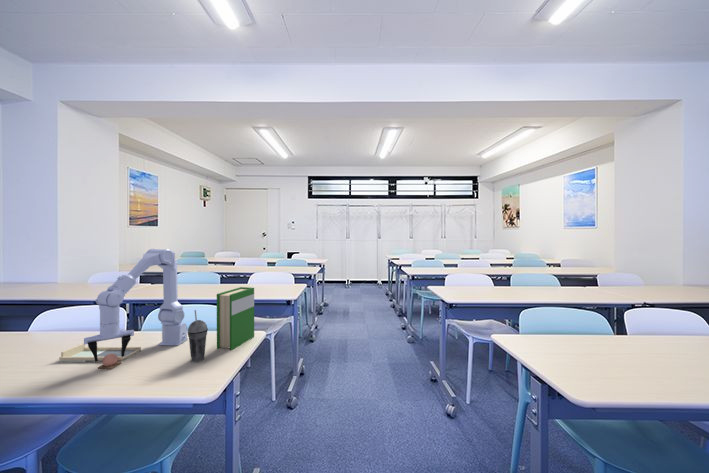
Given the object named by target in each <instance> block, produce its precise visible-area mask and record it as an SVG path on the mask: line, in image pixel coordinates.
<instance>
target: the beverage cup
mask: <svg viewBox="0 0 709 473" xmlns="http://www.w3.org/2000/svg"><path fill="white" fill-rule="evenodd" d="M194 317H195V320H194V321H192V322H191V323H190V324H189V326H188V327H187V338H188V341H189V353H190V359H191V360H190V361H191V362H193V363H197V362H202V361H203V360H204V359H205V355H206V354H205V353H206V346H207V335H208V330H209V329H208V325H207V323H206V322H205V321H203V320H201V319H198V317H197V310H196V309H195V310H194Z"/></svg>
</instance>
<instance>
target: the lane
mask: <svg viewBox="0 0 709 473" xmlns="http://www.w3.org/2000/svg"><path fill="white" fill-rule="evenodd" d="M85 345H86V344H85ZM85 345H84V342H83V343H81V344H78V345H76V346H73V347H71V348H68V349H66V350H63V351H60V352H61V353H60V356H59V358H58V360H59V361H58V362H59V363H96V362H95V358H94V356H93V353H92V352H91V350H90V349H89V347H88V346H85ZM121 349H122V346H97V358H98V362H97V363H102V360H103V358H104V357H105V356H106V355H108V354H115V355H116V356H117V358H118V360H117V362H121V361H122V362H123V361H125V360H127V359H128V358H130V357H132V356H134V355H136V354H138V353H140V352H142V346H127V347H126V350H125V353H124V356H123V357H122V356H121Z"/></svg>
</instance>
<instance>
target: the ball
mask: <svg viewBox="0 0 709 473" xmlns="http://www.w3.org/2000/svg"><path fill="white" fill-rule="evenodd" d="M117 360H118V358H117V356H116V355H115V354H108V355H106V356H105V357H104V358H103V360H102V362H101V363H102V365H104V366H112V365H114V364H115V363H116V362H117Z"/></svg>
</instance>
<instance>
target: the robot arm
mask: <svg viewBox="0 0 709 473" xmlns="http://www.w3.org/2000/svg"><path fill="white" fill-rule="evenodd" d="M153 266H158V267H159V268H161V269H162V282H163V284H162V286H163V294H162V295H163V303H162V304H161V305H160V306H159V312H158V314H157V317H158V318H157V319H158V321H160V323H161V335H162V337H161V342H160V343H157V346H179V345H182V343H184V342H186V341H188V340H189V337H188V333H187V332H188V326H187V324H186V323H183V322H182V321H183V320H184V318H185V312H184V309H183V306H184V305H182V304H181V303H180V302H179V301H178V300H179V299H178V263H177V261H176V253H175V252H174V251H173V250H171V249H169V248H165V249H164V248H150V249H148V250H147V251H146V252H145V253H143V255H142V258H141V259H140V260H139V261H138V262H137V264H135V265H134V267H133V268H132V269H131V270H130V271H129V273H127V274H122V275H121V276H120V275H119V276H118V277H117V278H116V279H117V280H116V281H115V282H114V283H112V285H110V286H108V287H107V290H103V291H101V292H100V293H99V294H98V295H97V298H96V299H95V303H96V305H98V310H99V334H96V335H92V336H87V337H84V338H83V343H84V345H87V347H89V349H90V350H91V352H92V353H93V356H94V358H95V362H94V363H99V362H98V358H97V347H98V342H102V341H109V340H113V339H121V347H122V349H121V356H122V357H123V356H124V353H125V350H126V347H128V345H129V343H130V341H131V337H133V336H135V330H134V329H129V330H128V329H127V330H120V305H121V304H123V303H124V298H125V297H126V294H127V293H128V292H129V291H130V290H131V289H132V288H133V287H134V286H135V285H136V284H137V283H136V280H137V279H138V278H140V276H141V275H143V273H145V271H147V270H148V269H149V268H150V267H153Z"/></svg>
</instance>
